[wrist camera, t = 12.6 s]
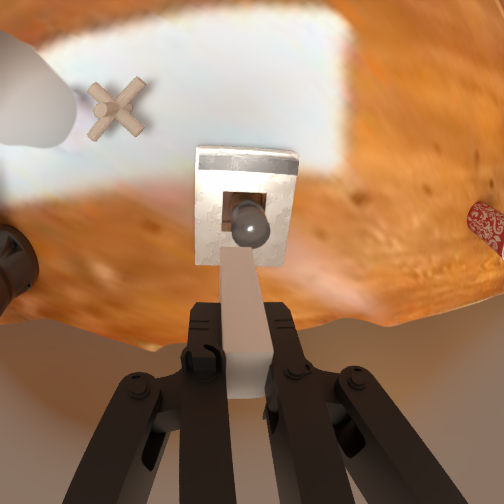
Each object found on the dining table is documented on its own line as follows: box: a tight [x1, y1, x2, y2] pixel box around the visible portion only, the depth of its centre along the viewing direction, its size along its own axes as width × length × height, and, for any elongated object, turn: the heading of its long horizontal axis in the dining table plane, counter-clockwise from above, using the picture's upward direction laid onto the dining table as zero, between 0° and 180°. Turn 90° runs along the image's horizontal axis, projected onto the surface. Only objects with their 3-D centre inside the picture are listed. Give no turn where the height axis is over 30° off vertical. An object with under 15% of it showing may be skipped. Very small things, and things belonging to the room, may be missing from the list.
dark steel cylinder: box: [229, 192, 270, 249], centre depth 39 cm, size 5×5×10 cm
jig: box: [195, 145, 299, 267], centre depth 41 cm, size 14×18×6 cm
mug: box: [467, 202, 504, 261], centre depth 43 cm, size 13×9×14 cm
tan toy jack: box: [87, 77, 146, 141], centre depth 29 cm, size 10×10×10 cm
